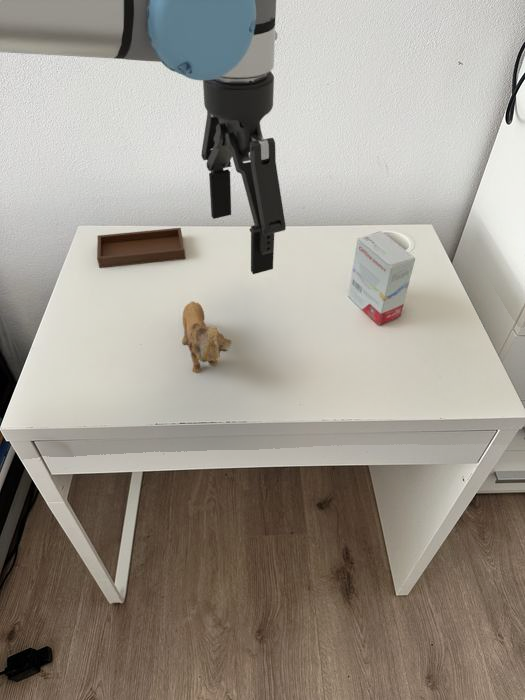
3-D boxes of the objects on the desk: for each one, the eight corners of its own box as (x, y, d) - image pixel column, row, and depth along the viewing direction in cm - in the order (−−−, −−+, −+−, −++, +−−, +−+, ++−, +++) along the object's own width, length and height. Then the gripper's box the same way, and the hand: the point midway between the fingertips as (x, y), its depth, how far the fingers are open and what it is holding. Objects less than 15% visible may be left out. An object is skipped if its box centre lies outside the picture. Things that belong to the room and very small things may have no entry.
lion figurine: (236, 378, 77) (235, 334, 71) (201, 391, 76) (197, 346, 69) (198, 316, 86) (194, 271, 80) (166, 326, 85) (160, 281, 78)
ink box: (401, 317, 87) (418, 257, 78) (377, 326, 85) (392, 267, 77) (369, 287, 92) (382, 228, 84) (346, 296, 90) (356, 237, 82)
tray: (99, 267, 95) (97, 258, 93) (99, 244, 99) (97, 235, 98) (185, 258, 97) (184, 249, 95) (181, 236, 102) (180, 227, 100)
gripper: (328, 110, 49) (309, 288, 65) (226, 32, 65) (230, 191, 80) (254, 123, 47) (253, 305, 62) (167, 39, 63) (182, 201, 78)
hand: (240, 241), depth 71 cm, fingers open, 13 cm apart
